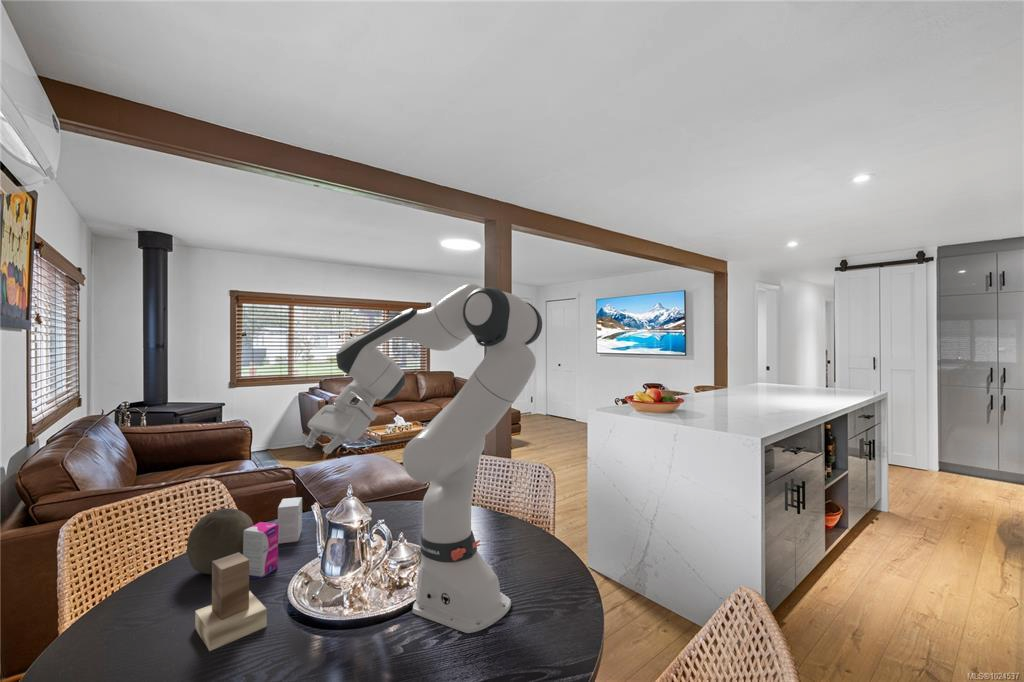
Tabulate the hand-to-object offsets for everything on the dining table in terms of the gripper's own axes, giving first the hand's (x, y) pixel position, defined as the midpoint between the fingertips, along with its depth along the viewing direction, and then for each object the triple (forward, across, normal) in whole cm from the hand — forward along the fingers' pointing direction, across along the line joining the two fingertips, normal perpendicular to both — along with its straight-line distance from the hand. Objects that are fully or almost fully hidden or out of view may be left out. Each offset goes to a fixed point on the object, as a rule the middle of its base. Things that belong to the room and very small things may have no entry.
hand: (316, 449), depth 113 cm
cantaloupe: (+32, -21, +12) cm, 40 cm away
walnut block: (+35, +7, +4) cm, 36 cm away
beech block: (+38, +7, +7) cm, 39 cm away
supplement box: (+28, -12, +16) cm, 35 cm away
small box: (+18, -27, +26) cm, 42 cm away
